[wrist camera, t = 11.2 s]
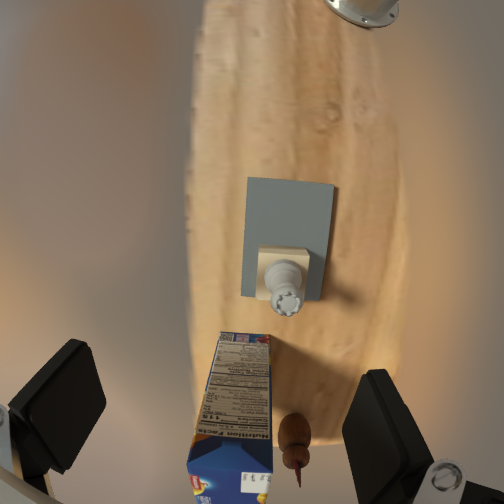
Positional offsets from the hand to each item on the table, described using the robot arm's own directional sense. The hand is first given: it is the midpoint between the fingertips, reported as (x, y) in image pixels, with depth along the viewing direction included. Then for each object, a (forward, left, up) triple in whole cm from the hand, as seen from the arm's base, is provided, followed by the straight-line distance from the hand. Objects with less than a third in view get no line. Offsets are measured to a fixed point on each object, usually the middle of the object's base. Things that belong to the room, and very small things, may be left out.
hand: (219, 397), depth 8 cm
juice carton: (+22, 0, -31) cm, 38 cm away
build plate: (+2, +4, -30) cm, 31 cm away
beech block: (+5, +4, -29) cm, 30 cm away
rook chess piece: (+5, +4, -26) cm, 26 cm away
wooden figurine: (+36, +10, -31) cm, 48 cm away
